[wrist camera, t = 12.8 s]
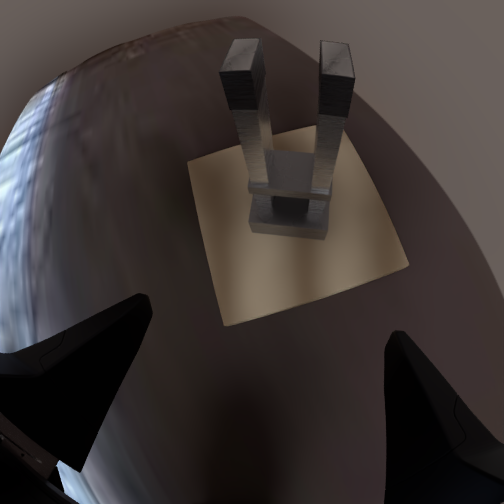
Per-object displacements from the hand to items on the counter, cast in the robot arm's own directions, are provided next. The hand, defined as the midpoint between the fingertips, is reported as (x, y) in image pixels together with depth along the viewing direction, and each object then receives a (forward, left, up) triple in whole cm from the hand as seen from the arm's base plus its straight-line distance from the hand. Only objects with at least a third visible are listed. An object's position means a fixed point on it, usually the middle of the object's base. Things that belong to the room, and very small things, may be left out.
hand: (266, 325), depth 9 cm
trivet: (+4, +8, -10) cm, 14 cm away
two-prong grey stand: (+4, +8, -9) cm, 13 cm away
